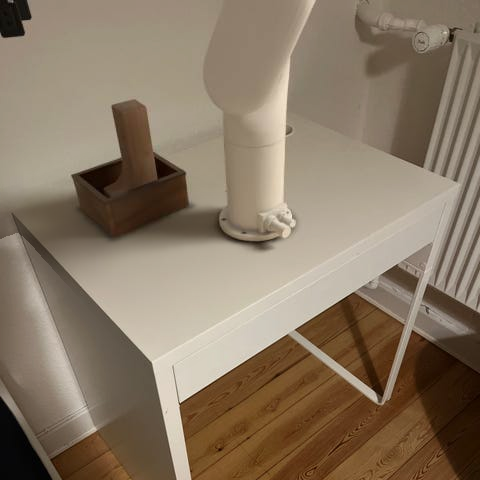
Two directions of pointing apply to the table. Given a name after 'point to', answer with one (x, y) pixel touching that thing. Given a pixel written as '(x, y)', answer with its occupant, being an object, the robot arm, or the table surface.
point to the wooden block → (132, 147)
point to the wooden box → (130, 196)
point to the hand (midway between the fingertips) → (18, 28)
